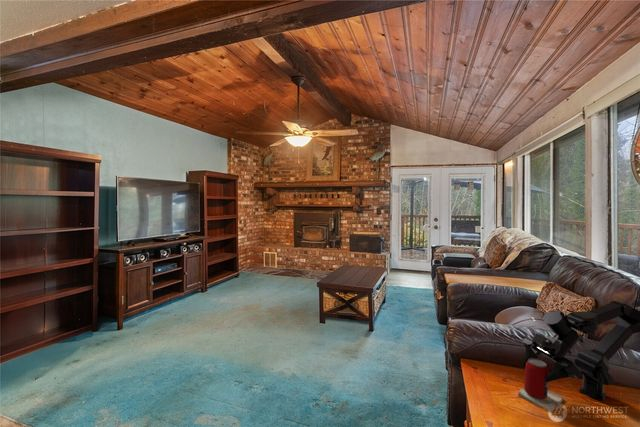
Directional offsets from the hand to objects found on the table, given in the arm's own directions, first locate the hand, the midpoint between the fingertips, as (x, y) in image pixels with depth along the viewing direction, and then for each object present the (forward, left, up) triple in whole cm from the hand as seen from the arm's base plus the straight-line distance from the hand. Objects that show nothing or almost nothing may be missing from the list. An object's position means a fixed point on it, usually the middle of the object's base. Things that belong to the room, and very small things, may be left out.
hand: (534, 373), depth 104 cm
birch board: (-3, +2, -9) cm, 10 cm away
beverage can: (-1, 0, -8) cm, 8 cm away
